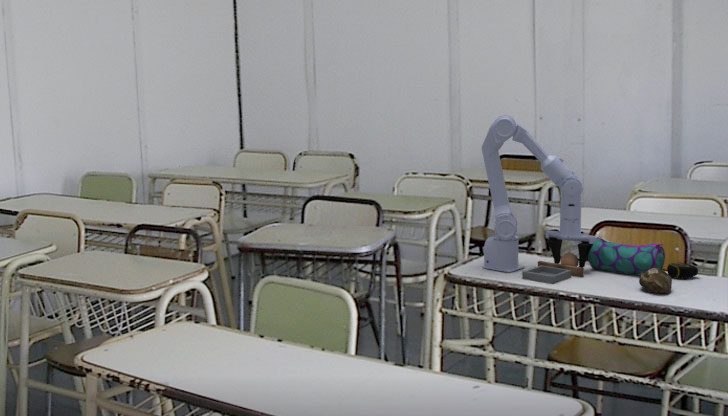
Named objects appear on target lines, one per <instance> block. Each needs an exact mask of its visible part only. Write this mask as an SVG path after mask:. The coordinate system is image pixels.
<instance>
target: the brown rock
mask: <svg viewBox="0 0 728 416" xmlns="http://www.w3.org/2000/svg"><path fill="white" fill-rule="evenodd" d="M640 274H641V275H640V278H639V281H638V282H639V286H640V287H642V288H643V289H644V290H646V291H647V292H649V293H652V294H657V293H659V294H668V293H671V291H672V286H673V285H672V284H673V279H672V276H669V275H668V272H666V271H664V270H663V269H662V270H661V269H657V268H653V269H650V270H648V271H646V272H645V273H640Z"/></svg>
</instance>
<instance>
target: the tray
mask: <svg viewBox="0 0 728 416" xmlns="http://www.w3.org/2000/svg"><path fill="white" fill-rule="evenodd" d="M521 274H522V276H521V277H522V279H523V280H530V281H535V282H539V283H545V284H549V285H550V284H551V285H553V284H557V283H559V282H562V281H565V280H568V279H571V278H572V276H571V270H566V269H560V268H554V267H548V266H542V265H541V266H538V265H537V266H536V267H535V266H534V267H532V268H529V269H526V270H522V271H521Z"/></svg>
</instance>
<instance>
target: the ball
mask: <svg viewBox="0 0 728 416" xmlns="http://www.w3.org/2000/svg"><path fill="white" fill-rule="evenodd" d="M560 264H562V265H569V266H575V267H579V257H578V256H577V255H576V254H574V253H572V252H567V253H564V254H563V255H562V256H561V257H560Z"/></svg>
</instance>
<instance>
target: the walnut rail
mask: <svg viewBox="0 0 728 416" xmlns="http://www.w3.org/2000/svg"><path fill="white" fill-rule="evenodd" d="M541 265H542V266H548V267H554V268H560V269H566V270H571V277H575V278H576V277H577V278H584V274H585V272H584V271H585V270H584V269H585V268H584V267H583V268H581V267H579V266H577V267H575V266H569V265H562V264H561V263H559V264H556V263H554V262H550V261H542V260H538V261H537V267H538V266H541Z"/></svg>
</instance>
